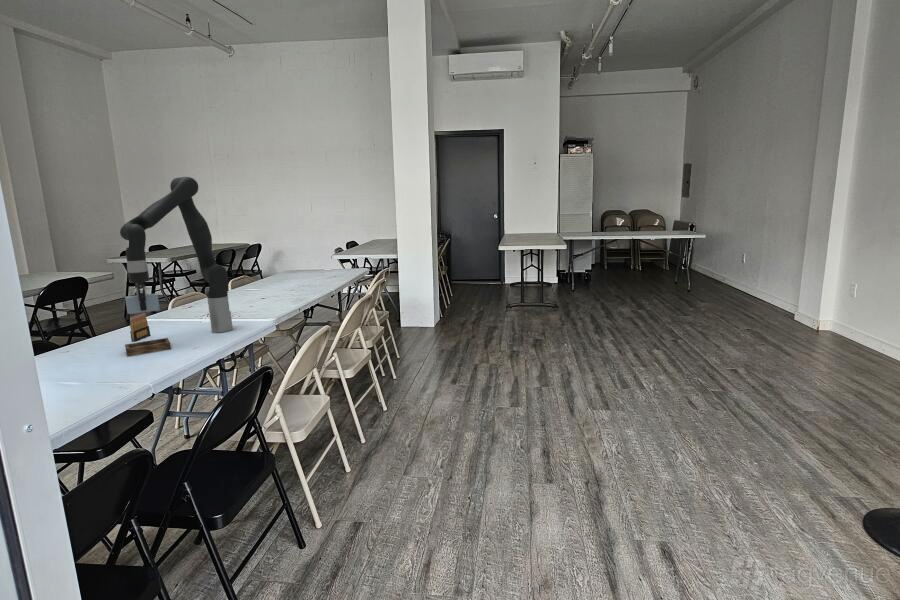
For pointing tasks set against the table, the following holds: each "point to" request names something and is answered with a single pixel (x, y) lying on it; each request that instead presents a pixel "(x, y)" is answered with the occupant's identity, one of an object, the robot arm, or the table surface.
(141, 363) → the table surface
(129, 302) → the long grey rectangular block
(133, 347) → the cradle jig
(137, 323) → the ammunition clip
